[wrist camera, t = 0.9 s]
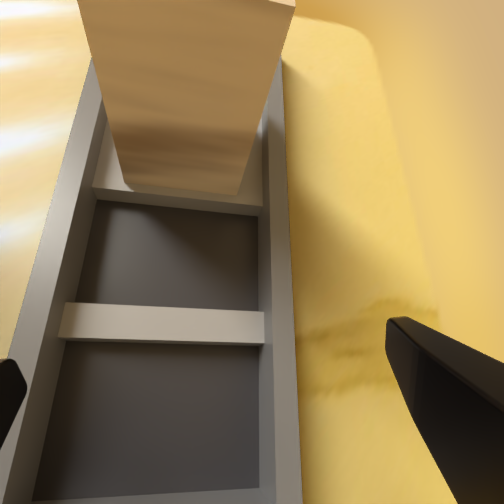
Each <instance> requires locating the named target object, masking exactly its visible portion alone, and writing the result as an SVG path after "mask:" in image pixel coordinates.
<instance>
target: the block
mask: <svg viewBox="0 0 504 504" xmlns="http://www.w3.org/2000/svg"><path fill="white" fill-rule="evenodd" d="M77 1H78V5H79V9H80V13H81V17H82V21H83V25H84V29H85V32H86V36H87V40H88V44H89V48H90V52H91V56H92V60H93V63H94V67H95V71H96V75H97V79H98V83H99V87H100V91H101V94H102V98H103V102H104V106H105V110H106V114H107V118H108V122H109V125H110V129H111V133H112V137H113V141H114V145H115V149H116V152H117V156H118V160H119V164H120V168H121V172H122V176H123V180H124V182H125V183H133V184H142V185H150V186H159V187H167V188H176V189H184V190H193V191H201V192H210V193H218V194H227V195H235V196H237V193H238V190H239V187H240V183H241V180H242V177H243V174H244V171H245V167H246V164H247V161H248V158H249V155H250V151H251V148H252V145H253V142H254V139H255V135H256V132H257V129H258V126H259V122H260V119H261V116H262V113H263V110H264V106H265V103H266V100H267V97H268V94H269V90H270V87H271V84H272V81H273V78H274V74H275V71H276V68H277V65H278V62H279V58H280V55H281V52H282V49H283V45H284V42H285V39H286V36H287V33H288V29H289V26H290V23H291V20H292V17H293V13H294V10H295V0H77Z"/></svg>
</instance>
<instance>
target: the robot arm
mask: <svg viewBox="0 0 504 504" xmlns="http://www.w3.org/2000/svg"><path fill="white" fill-rule="evenodd" d="M385 350H386V355H387V358H388V360H389V363H390V365H391V368H392V370H393V373H394V375H395V378H396V380H397V382H398V385H399V387H400V390H401V392H402V395H403V397H404V400H405V402H406V405H407V407H408V409H409V412H410V414H411V416H412V418H413V420H414V422H415V424H416V426H417V428H418V430H419V432H420V434H421V436H422V438H423V440H424V441H425V443H426V445H427V447H428V449H429V451H430V453H431V455H432V456H433V458H434V460H435V462H436V464H437V466H438V468H439V469H440V471H441V473H442V475H443V477H444V479H445V481H446V483H447V484H448V486H449V488H450V490H451V492H452V494H453V496H454V498H455V499H456V501H457V503H458V504H504V363H502V362H500V361H498V360H496V359H494V358H491V357H490V356H487V355H485V354H483V353H481V352H479V351H477V350H475V349H473V348H471V347H469V346H467V345H465V344H462V343H460V342H458V341H456V340H454V339H452V338H450V337H448V336H446V335H444V334H442V333H440V332H438V331H436V330H433V329H431V328H429V327H427V326H425V325H423V324H421V323H419V322H417V321H415V320H413V319H411V318H408V317H405V316H403V317H393V318H389V319H388V320H387V323H386V340H385ZM26 394H27V383H26V381H25V378H24V376H23V374H22V372H21V370H20V368H19V366H18V364H17V362H16V361H15V360H14V359H11V358H7V359H0V450H1V448H2V446H3V443H4V441H5V439H6V437H7V435H8V433H9V431H10V428H11V426H12V424H13V422H14V420H15V418H16V415H17V413H18V411H19V409H20V407H21V405H22V403H23V400H24V398H25V396H26Z"/></svg>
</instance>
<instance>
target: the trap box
mask: <svg viewBox="0 0 504 504" xmlns="http://www.w3.org/2000/svg"><path fill="white" fill-rule="evenodd" d="M7 358H11V359H14V360H15V361H16V362H17V364H18V366H19V368H20V370H21V372H22V374H23V376H24V378H25V381H26V383H27V394H26V396H25V398H24V400H23V403H22V405H21V407H20V409H19V411H18V413H17V415H16V418H15V420H14V422H13V424H12V426H11V428H10V431H9V433H8V435H7V437H6V439H5V441H4V443H3V446H2V448H1V450H0V504H303V500H302V479H301V459H300V438H299V417H298V396H297V375H296V354H295V333H294V313H293V292H292V271H291V250H290V229H289V208H288V187H287V167H286V146H285V125H284V104H283V83H282V62H281V55H280V58H279V62H278V65H277V68H276V71H275V74H274V78H273V81H272V84H271V87H270V90H269V94H268V97H267V100H266V103H265V106H264V110H263V113H262V116H261V119H260V122H259V126H258V129H257V132H256V135H255V139H254V142H253V145H252V148H251V151H250V155H249V158H248V161H247V164H246V167H245V171H244V174H243V177H242V180H241V183H240V187H239V190H238V193H237V196H235V195H227V194H218V193H210V192H201V191H193V190H184V189H176V188H167V187H159V186H150V185H142V184H133V183H125V182H124V180H123V176H122V172H121V168H120V164H119V160H118V156H117V152H116V149H115V145H114V141H113V137H112V133H111V129H110V125H109V122H108V118H107V114H106V110H105V106H104V102H103V98H102V94H101V91H100V87H99V83H98V79H97V75H96V71H95V67H94V63H93V60H92V58H91V61H90V65H89V68H88V72H87V75H86V79H85V83H84V86H83V90H82V93H81V97H80V100H79V104H78V108H77V111H76V115H75V118H74V122H73V125H72V129H71V133H70V136H69V140H68V143H67V147H66V150H65V154H64V157H63V161H62V165H61V168H60V172H59V175H58V179H57V182H56V186H55V190H54V193H53V197H52V200H51V204H50V207H49V211H48V214H47V218H46V222H45V225H44V229H43V232H42V236H41V239H40V243H39V247H38V250H37V254H36V257H35V261H34V264H33V268H32V271H31V275H30V279H29V282H28V286H27V289H26V293H25V296H24V300H23V304H22V307H21V311H20V314H19V318H18V321H17V325H16V328H15V332H14V336H13V339H12V343H11V346H10V350H9V353H8V357H7Z"/></svg>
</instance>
